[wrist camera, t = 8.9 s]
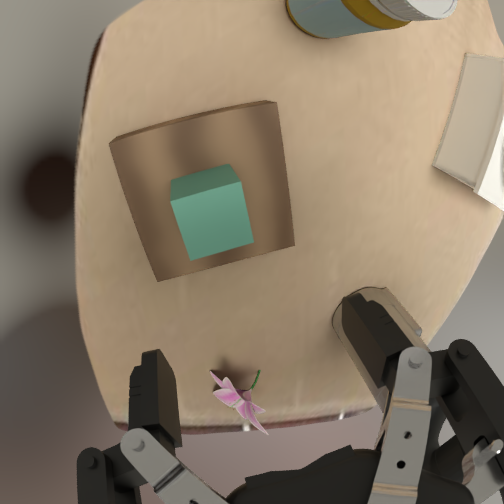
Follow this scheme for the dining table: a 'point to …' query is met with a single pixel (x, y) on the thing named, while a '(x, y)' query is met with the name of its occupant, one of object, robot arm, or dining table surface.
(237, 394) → the lily
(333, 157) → the dining table surface
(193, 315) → the dining table surface
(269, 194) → the walnut base
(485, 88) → the butter dish
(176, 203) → the green cube
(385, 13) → the bottle
